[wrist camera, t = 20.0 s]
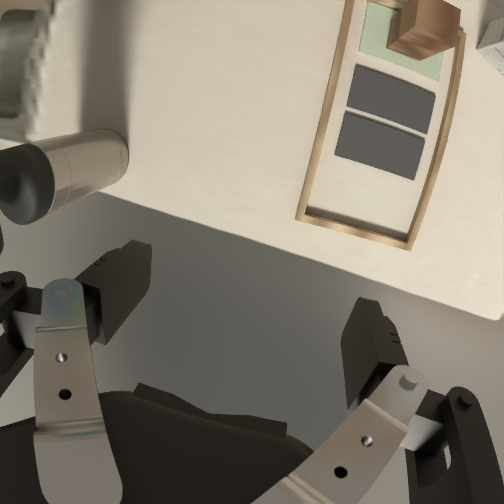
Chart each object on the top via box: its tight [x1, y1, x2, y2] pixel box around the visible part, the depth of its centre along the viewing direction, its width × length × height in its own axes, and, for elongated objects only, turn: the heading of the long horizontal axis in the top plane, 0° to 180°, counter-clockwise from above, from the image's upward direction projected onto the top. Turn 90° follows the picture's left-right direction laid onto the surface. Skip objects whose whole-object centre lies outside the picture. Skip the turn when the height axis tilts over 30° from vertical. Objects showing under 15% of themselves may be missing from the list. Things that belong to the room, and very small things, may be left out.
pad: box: [359, 1, 444, 82], centre depth 31 cm, size 12×8×1 cm
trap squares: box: [335, 66, 436, 181], centre depth 37 cm, size 12×13×1 cm
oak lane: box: [295, 0, 466, 251], centre depth 36 cm, size 18×35×1 cm, turn 168°
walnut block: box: [386, 0, 461, 61], centre depth 26 cm, size 5×5×12 cm
